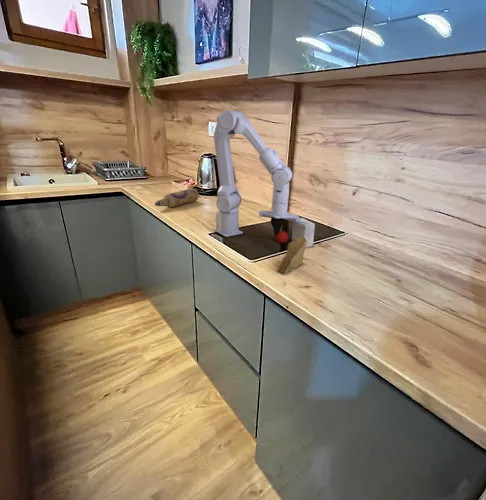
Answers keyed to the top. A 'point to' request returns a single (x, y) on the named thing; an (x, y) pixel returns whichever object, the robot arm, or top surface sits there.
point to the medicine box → (303, 231)
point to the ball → (281, 237)
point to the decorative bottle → (178, 198)
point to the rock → (293, 255)
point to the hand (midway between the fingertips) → (276, 237)
